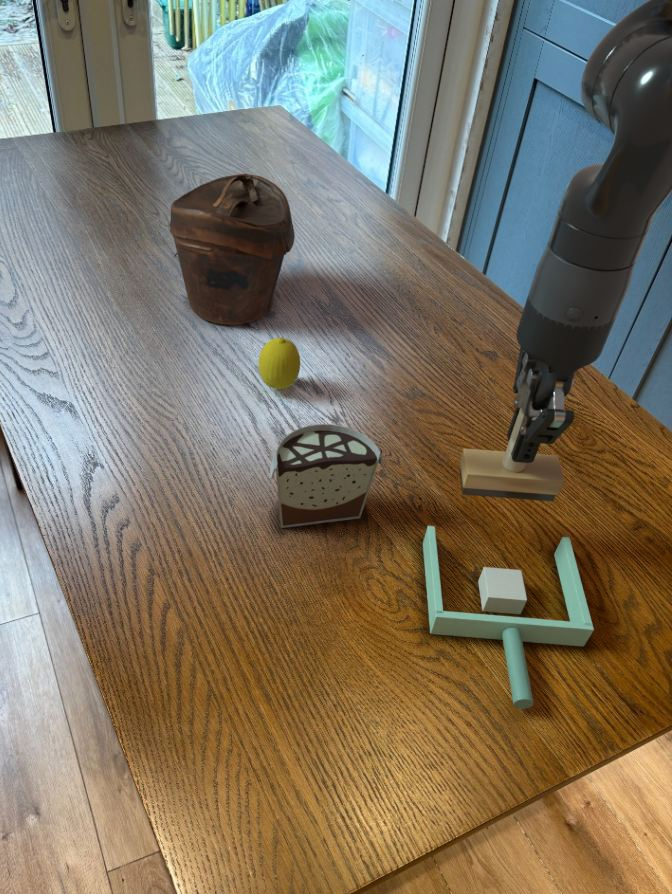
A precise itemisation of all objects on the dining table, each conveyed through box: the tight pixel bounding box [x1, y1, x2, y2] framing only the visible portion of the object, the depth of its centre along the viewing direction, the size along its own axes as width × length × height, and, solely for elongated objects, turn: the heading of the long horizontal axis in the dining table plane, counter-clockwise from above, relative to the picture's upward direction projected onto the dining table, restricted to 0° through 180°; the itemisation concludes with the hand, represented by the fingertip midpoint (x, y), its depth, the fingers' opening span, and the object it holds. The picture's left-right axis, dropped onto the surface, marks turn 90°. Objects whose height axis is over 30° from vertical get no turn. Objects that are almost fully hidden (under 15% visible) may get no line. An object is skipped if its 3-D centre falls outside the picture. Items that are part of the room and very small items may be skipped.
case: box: [169, 173, 296, 326], centre depth 110 cm, size 18×20×18 cm
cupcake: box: [269, 423, 384, 529], centre depth 84 cm, size 12×6×10 cm, turn 102°
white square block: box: [477, 566, 528, 615], centre depth 79 cm, size 4×4×2 cm
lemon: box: [258, 337, 301, 390], centre depth 99 cm, size 6×6×8 cm
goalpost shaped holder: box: [422, 525, 595, 710], centre depth 76 cm, size 20×16×3 cm
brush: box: [459, 407, 566, 502], centre depth 76 cm, size 4×10×10 cm, turn 86°
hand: (519, 449), depth 76 cm, fingers closed on brush, 2 cm apart
